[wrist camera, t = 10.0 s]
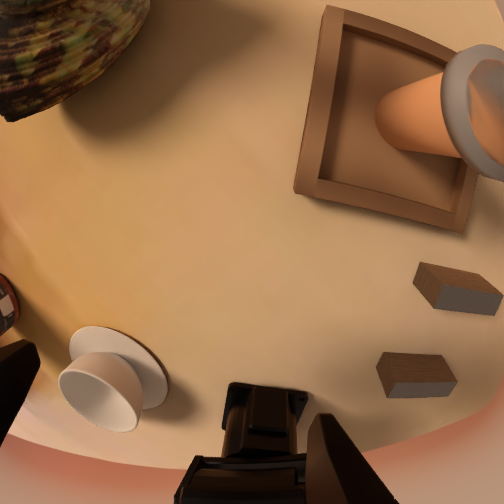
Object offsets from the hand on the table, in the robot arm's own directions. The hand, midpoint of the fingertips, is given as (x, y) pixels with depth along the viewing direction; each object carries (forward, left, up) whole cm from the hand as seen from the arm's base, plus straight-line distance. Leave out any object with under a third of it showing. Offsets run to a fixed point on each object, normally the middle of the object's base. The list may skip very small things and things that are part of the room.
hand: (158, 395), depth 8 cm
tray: (+10, -9, -12) cm, 18 cm away
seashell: (+14, +11, -12) cm, 22 cm away
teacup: (-13, +8, -12) cm, 20 cm away
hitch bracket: (-3, -16, -12) cm, 20 cm away
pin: (+10, -9, -11) cm, 18 cm away
